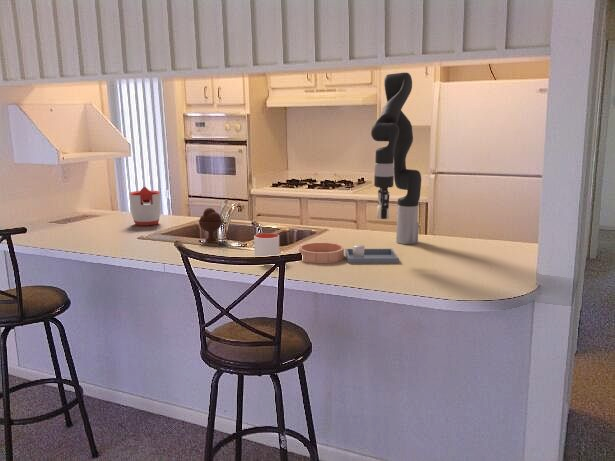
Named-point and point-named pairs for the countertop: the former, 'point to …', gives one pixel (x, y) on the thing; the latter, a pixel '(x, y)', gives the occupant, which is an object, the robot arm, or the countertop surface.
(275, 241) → the cup
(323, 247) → the terracotta bowl
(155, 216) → the citrus juicer
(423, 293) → the countertop surface
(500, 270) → the countertop surface
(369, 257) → the parts tray
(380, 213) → the sandstone pebble
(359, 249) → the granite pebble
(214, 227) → the ice cream bowl
